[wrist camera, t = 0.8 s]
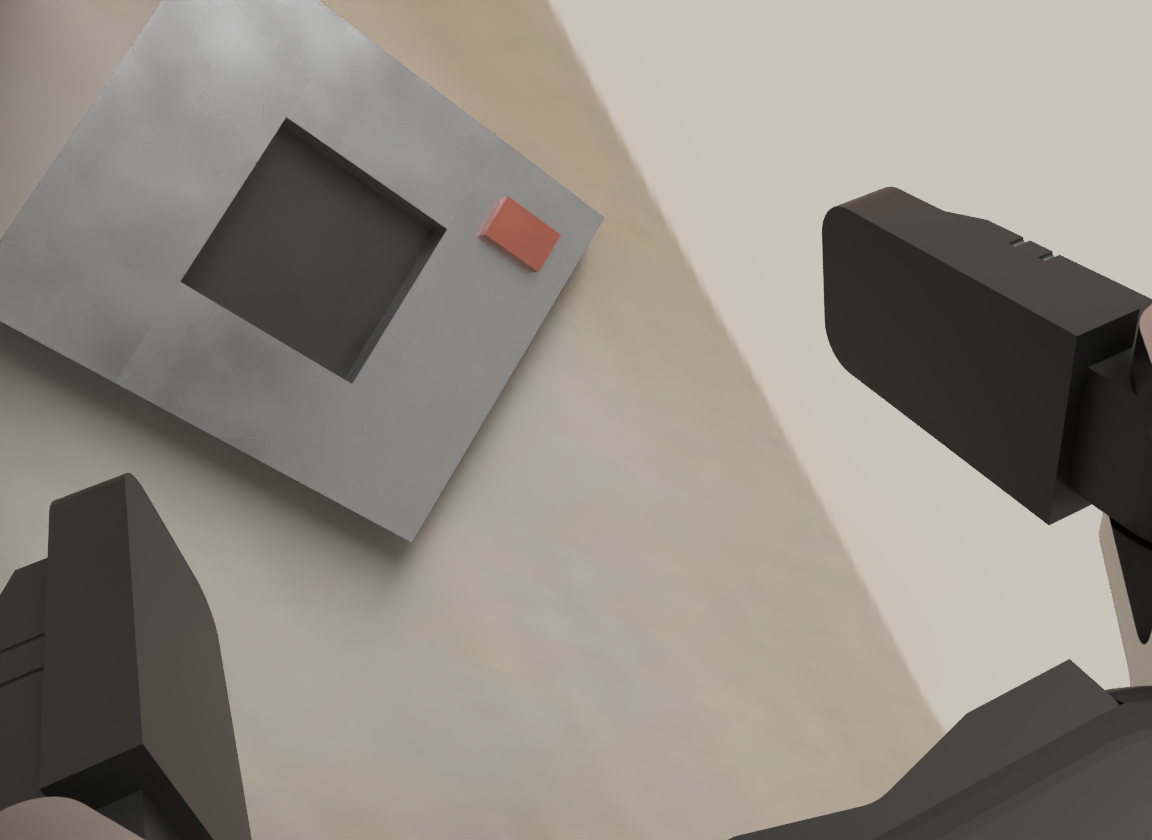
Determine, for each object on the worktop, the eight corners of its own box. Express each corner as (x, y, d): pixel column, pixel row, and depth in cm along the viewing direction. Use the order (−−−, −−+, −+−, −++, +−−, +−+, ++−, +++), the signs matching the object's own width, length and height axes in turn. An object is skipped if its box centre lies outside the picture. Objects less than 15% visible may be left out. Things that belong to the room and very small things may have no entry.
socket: (-28, 300, 31) (-43, 300, 29) (211, -58, 33) (215, -86, 30) (399, 530, 38) (415, 546, 35) (583, 221, 39) (611, 216, 37)
